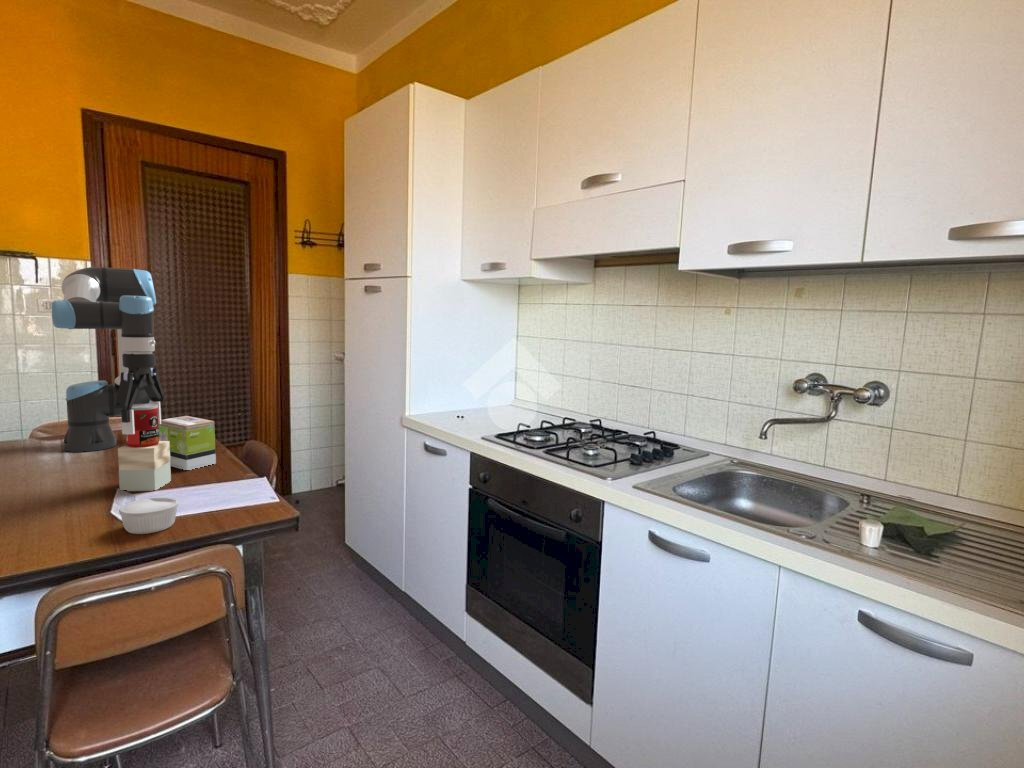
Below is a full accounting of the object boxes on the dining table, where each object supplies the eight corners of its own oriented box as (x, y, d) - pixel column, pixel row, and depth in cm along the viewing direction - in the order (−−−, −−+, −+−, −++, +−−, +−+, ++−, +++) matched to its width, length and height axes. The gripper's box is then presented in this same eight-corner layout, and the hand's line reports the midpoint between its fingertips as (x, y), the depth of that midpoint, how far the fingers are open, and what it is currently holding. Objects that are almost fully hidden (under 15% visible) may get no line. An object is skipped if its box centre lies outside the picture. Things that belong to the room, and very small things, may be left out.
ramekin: (188, 518, 132) (187, 497, 131) (160, 537, 121) (159, 513, 120) (141, 517, 132) (140, 496, 131) (108, 536, 121) (107, 513, 120)
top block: (136, 461, 158) (135, 441, 157) (170, 461, 159) (169, 440, 159) (119, 470, 149) (117, 448, 149) (154, 469, 151) (153, 448, 150)
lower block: (137, 481, 159) (136, 461, 158) (171, 481, 160) (170, 461, 159) (119, 491, 150) (118, 470, 149) (155, 491, 151) (154, 469, 150)
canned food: (143, 448, 149) (141, 408, 148) (118, 446, 151) (116, 406, 149) (166, 442, 157) (164, 404, 155) (142, 440, 158) (140, 402, 157)
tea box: (158, 464, 177) (156, 419, 175) (188, 458, 186) (187, 414, 184) (186, 471, 170) (184, 424, 168) (217, 464, 179) (215, 419, 177)
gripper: (127, 356, 139) (131, 438, 141) (175, 350, 163) (178, 420, 166) (95, 355, 138) (99, 438, 140) (148, 349, 162) (152, 420, 165)
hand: (142, 428), depth 153 cm, fingers open, 13 cm apart
